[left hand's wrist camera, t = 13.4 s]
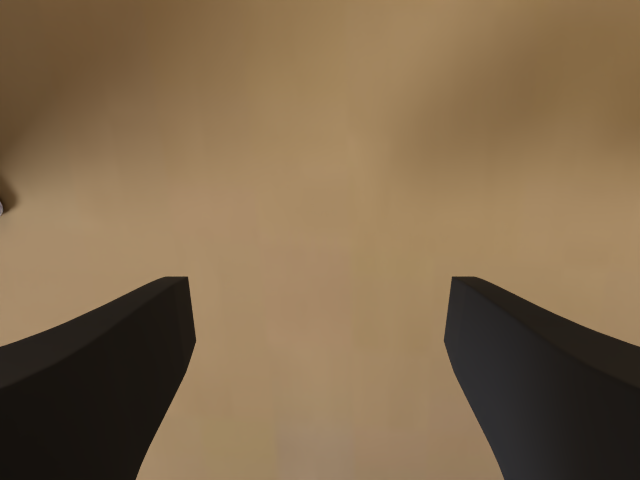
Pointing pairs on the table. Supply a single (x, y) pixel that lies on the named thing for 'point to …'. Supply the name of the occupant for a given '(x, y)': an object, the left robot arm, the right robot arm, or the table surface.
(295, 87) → the table surface
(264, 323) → the table surface
